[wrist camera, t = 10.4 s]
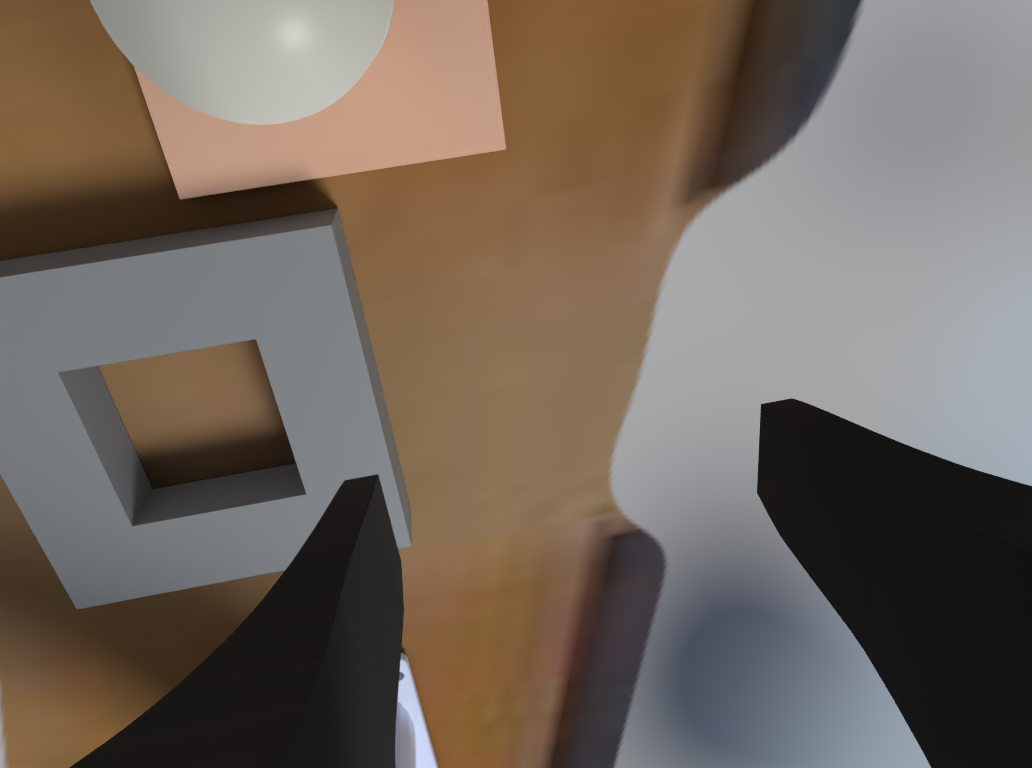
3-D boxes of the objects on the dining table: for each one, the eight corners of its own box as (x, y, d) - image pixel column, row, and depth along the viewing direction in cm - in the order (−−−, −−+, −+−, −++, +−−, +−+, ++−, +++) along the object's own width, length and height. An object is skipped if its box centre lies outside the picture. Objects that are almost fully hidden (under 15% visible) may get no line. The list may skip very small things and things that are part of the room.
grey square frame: (411, 509, 25) (411, 546, 24) (100, 568, 25) (77, 609, 23) (338, 208, 20) (331, 224, 18) (-57, 269, 20) (-103, 293, 18)
